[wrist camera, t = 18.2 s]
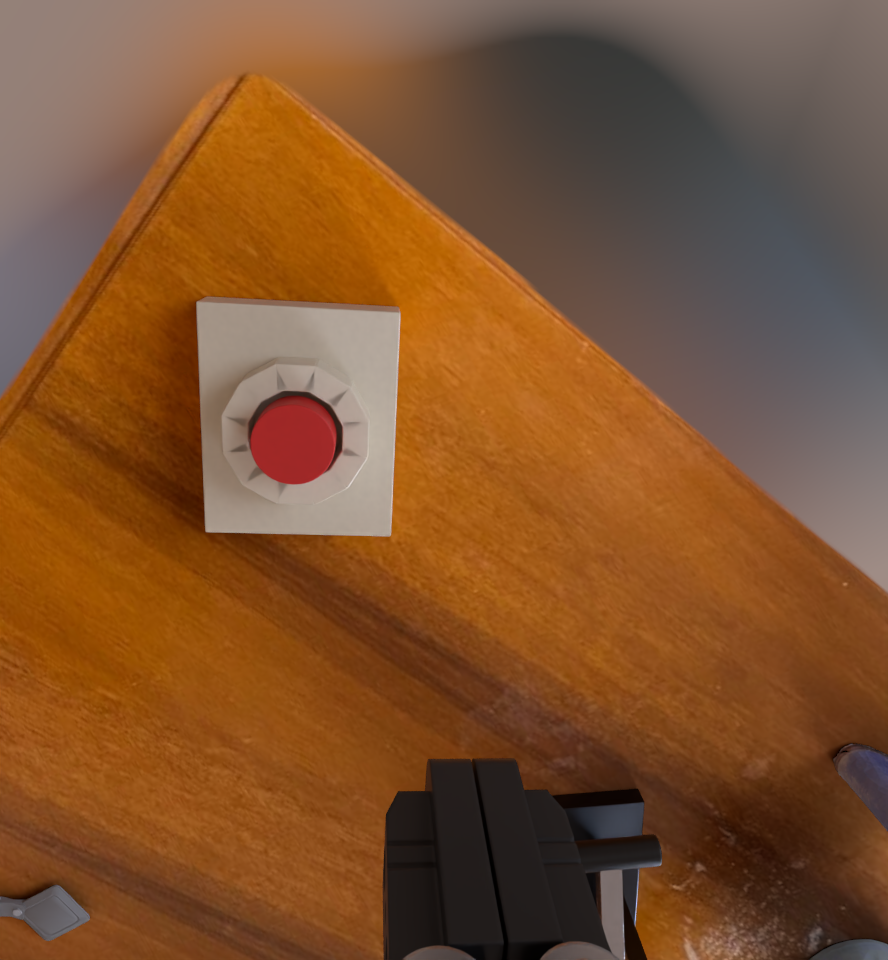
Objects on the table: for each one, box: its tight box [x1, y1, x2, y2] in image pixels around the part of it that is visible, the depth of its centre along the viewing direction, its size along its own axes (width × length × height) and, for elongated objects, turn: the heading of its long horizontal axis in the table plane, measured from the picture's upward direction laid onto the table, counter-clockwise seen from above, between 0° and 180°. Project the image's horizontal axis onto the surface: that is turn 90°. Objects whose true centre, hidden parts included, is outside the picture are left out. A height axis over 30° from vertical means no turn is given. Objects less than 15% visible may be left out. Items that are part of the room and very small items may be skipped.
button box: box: [196, 297, 400, 536], centre depth 36 cm, size 11×9×4 cm
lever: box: [574, 834, 662, 960], centre depth 39 cm, size 12×5×2 cm, turn 1°
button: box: [250, 396, 337, 485], centre depth 34 cm, size 4×4×2 cm
